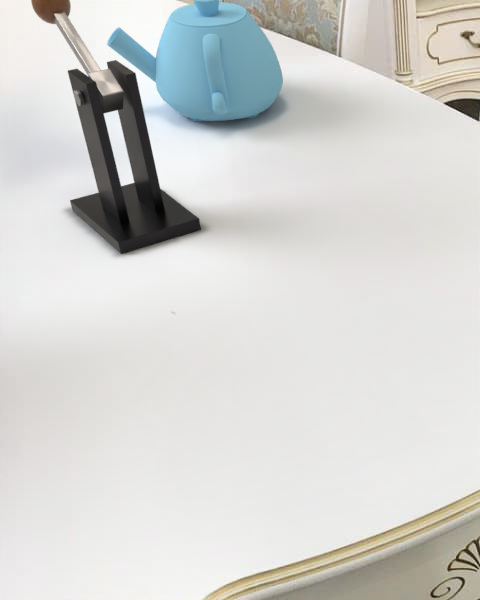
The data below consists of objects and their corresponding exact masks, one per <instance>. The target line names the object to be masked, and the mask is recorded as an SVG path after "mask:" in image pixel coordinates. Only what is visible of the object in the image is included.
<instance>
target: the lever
mask: <svg viewBox="0 0 480 600" xmlns="http://www.w3.org/2000/svg"><path fill="white" fill-rule="evenodd" d="M30 1H31V6H32V9H33V11H34V13H35V14H36V17H38V18H39V19H40V20H42V21H43V22H45V23H47V24H50V25H55V26H56V27H57V28H58V30H59V32H60V33H61V34H62V36H63V38H64V40H65V41H66V43H67V45H68V46H69V48H70V49H71V51H72V52H73V54H74V56H75V57H76V59H77V61H78V62H79V63H80V65H81V67H82V69H83V70H84V71H85V73H86V75H87V76H88V77H90V78H91V79H92V80H94V81H95V82H96V84H97V88H98V92H99V96H100V100H101V105H102V109H103V113H104V114H108V113H112V112H115V111H118V110H121V109H123V89H122V88H121V86H120V85H119V83H118V81H117V80H116V78H115V77H114V75H113V73H112V72H111V70H110V69H108V68H107V69H102V70H101V68H100V66H99V64H98V63H97V61H96V59H95V58H94V56H93V55H92V53H91V51H90V50H89V48H88V47H87V46H86V44H85V42H84V40H83V39H82V37H81V35H80V34H79V32H78V30H77V29H76V28H75V26H74V25H73V23H72V21H71V19H70V18H69V16H70V15H71V14H70V13H71V10H72V9H71V8H72V7H71V6H72V5H71V0H30Z"/></svg>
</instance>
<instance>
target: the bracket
mask: <svg viewBox="0 0 480 600" xmlns="http://www.w3.org/2000/svg"><path fill="white" fill-rule="evenodd" d="M106 65H107V69H110V70H111V72H112V73H113V75H114V77H115V78H116V80H117V81H118V83H119V85H120V86H121V88H122V89H123V109H121V110H117V113H118V117H119V122H120V126H121V131H122V134H123V139H124V143H125V147H126V153H127V157H128V160H129V165H130V169H131V175H132V179H133V182H132V183H131V182H130V183H128V184H125V185H121V180H120V176H119V172H118V168H117V163H116V159H115V155H114V151H113V146H112V143H111V138H110V135H109V130H108V126H107V122H106V118H105V113H103V109H102V105H101V100H100V96H99V92H98V88H97V84H96V82H95V81H94V80H92V79H91V78H90V77H89V76H88V75H87V74H85V73H84V72H83V71H81V70H80V69H78V68H74V69H67V75H68V78H69V82H70V86H71V90H72V93H73V98H74V102H75V106H76V111H77V113H78V117H79V121H80V126H81V129H82V133H83V136H84V141H85V145H86V148H87V154H88V157H89V160H90V164H91V168H92V172H93V174H94V180H95V184H96V188H97V191H98V192H95V193H91V194H87V195H84V196H80V197H77V198H73V199H70V200H69V202H70V207H71V209H72V212H74V214H76V216H78V217H79V218H80V219H81V220H83V221H84V222H85V223H86V224H87V225H88V226H89V227H90V228H91V229H92V230H94V231H95V232H96V233H97V234H98V235H99V236H100V237H102V238H103V239H104V240H105V241H106V242H107V243H108V244H110V245H111V246H112V247H113V248H114V249H115V250H116V251H117V252H119V253H120V254H124V253H128V252H131V251H134V250H137V249H140V248H145V247H147V246H150V245H154V244H158V243H160V242H164V241H167V240H170V239H174V238H177V237H181V236H183V235H187V234H190V233H193V232H197V231H199V230H202V227H201V221H200V218H199V217H198V216H196V215H195V214H194V213H193V212H192V211H190V210H189V209H188V208H186V207H185V206H184V205H182V204H181V203H180V202H178V200H176V199H175V198H173V197H172V196H171V195H169V194H168V193H167V192H166V191H164V190H163V189H161V186H160V181H159V176H158V172H157V171H158V170H157V168H156V167H157V166H156V162H155V158H154V153H153V148H152V144H151V138H150V134H149V130H148V124H147V121H146V115H145V111H144V106H143V102H142V97H141V92H140V87H139V84H138V79H137V74H136V72H135V71H133V70H132V69H130V68H129V67H128V66H125V64H123V63H122V62H120V61H119V60H116V59H114V60H109V61H106Z"/></svg>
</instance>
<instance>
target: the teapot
mask: <svg viewBox="0 0 480 600" xmlns="http://www.w3.org/2000/svg"><path fill="white" fill-rule="evenodd" d="M192 1H193V2H194V3H190V4H189V3H188V4H186V5H182V6H180V7H178V8H176V9H174V10H173V11H172V12H171V13H170V14H169V16H168V18H167V21H166V23H165V25H164V28H163V31H162V33H161V36H160V38H159V42H158V46H157V49H156V54H155V56H154V55H152V54H151V52H149V51H148V50H147V49H146V48H144V47H143V46H142V45H141V44H140V43H139V42H137V41H136V40H135V39H134V38H133V37H131V36H130V35H129V34H128V33H127V32H126V31H124V30H123V29H122V28H121V27H120V26H118V27H116V28H115V29H114V31H113V32H112V33H111V35H109V38H108V40H107V42H106V46H107V47H109V48H111V49H112V50H113V51H114V52H115V53H117V54H118V55H119V56H121V57H122V58H123V59H125V60H126V61H127V62H129V64H130V65H132V66H134V67H135V68H136V69H137V70H139V71H140V72H141V73H143V74H144V75H145V76H146V77H148V78H149V79H150V80H152V81H153V82H154V83H155V87H156V92H158V95H159V96H160V98H161V99H162V100H163V101H164V102H165V103H166V104H167V105H168V106H169V107H170V108H171V109H173V110H174V111H175V112H176V113H178V114H179V115H181V116H183V117H186V118H190V119H191V121H193V122H198V123H200V122H207V121H213V122H214V121H218V122H219V121H233V120H240V119H255V118H257V117H259V114H260V113H262V112H264V111H266V110H268V109H269V108H270V107H271V106H272V105H273V103H274V102H275V100H276V99H277V97H278V96H279V94H280V92H281V91H282V88H283V85H284V78H283V77H284V76H283V71H282V68H281V64H280V61H279V59H278V57H277V53H276V51H275V49H274V47H273V45H272V43H271V41H270V40H269V39H268V37H267V35H266V33H265V32H264V31H263V29H262V28H261V26H260V25H259V24H258V22H257V21H256V19H255V18H254V17H253V16H252V15H251V14H250V12H249V11H248V10H247V9H246V8H244V7H243V6H241V5H239V4H235V3H231V2H225V1H220V0H192Z"/></svg>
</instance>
